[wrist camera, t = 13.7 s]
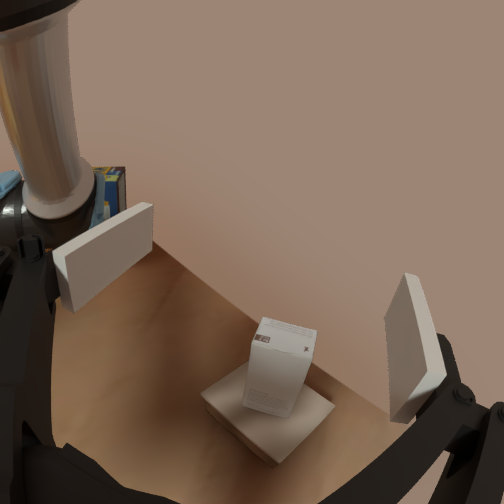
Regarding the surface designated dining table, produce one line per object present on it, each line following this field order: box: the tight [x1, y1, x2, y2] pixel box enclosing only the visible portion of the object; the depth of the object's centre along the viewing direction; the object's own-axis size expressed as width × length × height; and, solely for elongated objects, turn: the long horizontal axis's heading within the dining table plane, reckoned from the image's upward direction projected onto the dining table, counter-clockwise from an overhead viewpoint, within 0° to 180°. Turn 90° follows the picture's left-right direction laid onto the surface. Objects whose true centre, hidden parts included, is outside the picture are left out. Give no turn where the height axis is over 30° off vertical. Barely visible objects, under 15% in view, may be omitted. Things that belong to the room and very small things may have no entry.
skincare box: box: [242, 317, 318, 419], centre depth 33 cm, size 6×4×12 cm
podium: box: [200, 360, 335, 468], centre depth 37 cm, size 13×11×4 cm
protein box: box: [92, 167, 127, 222], centre depth 68 cm, size 10×15×16 cm
